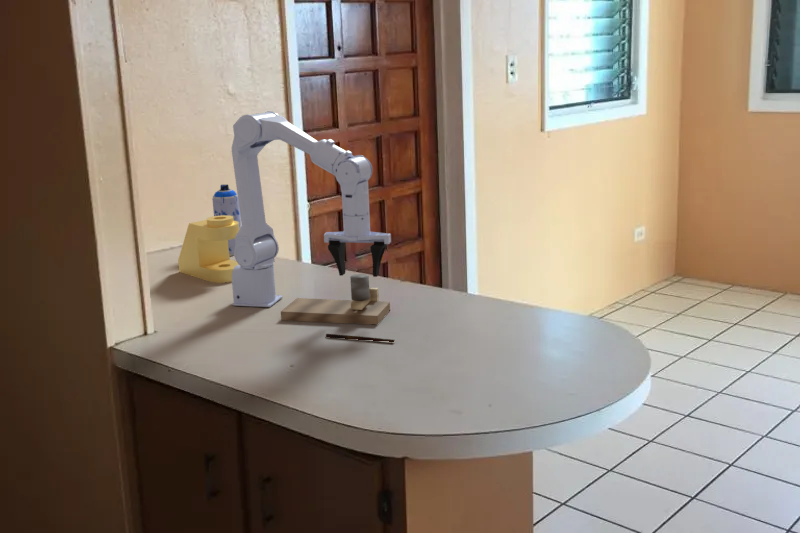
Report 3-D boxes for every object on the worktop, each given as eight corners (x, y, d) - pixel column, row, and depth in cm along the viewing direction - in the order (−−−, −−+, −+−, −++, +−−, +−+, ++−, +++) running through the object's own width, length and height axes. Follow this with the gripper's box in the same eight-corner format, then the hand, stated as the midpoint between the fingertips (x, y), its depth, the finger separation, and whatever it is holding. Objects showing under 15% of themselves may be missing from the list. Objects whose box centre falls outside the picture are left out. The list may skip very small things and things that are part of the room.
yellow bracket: (250, 277, 223) (245, 217, 218) (220, 285, 216) (214, 223, 212) (209, 265, 237) (203, 208, 232) (179, 272, 230) (173, 214, 226)
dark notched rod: (325, 338, 175) (324, 333, 175) (326, 337, 175) (325, 333, 175) (393, 344, 170) (393, 340, 170) (394, 344, 170) (394, 339, 170)
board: (281, 320, 187) (280, 311, 186) (297, 306, 196) (297, 297, 196) (377, 324, 181) (377, 315, 181) (390, 310, 191) (389, 301, 190)
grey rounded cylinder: (345, 316, 185) (343, 280, 183) (357, 303, 194) (356, 269, 192) (367, 317, 184) (366, 281, 182) (379, 304, 192) (377, 270, 190)
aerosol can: (248, 249, 253) (242, 182, 247) (238, 256, 245) (232, 187, 240) (223, 249, 254) (216, 182, 249) (212, 255, 247) (205, 187, 242)
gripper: (317, 216, 180) (321, 278, 184) (383, 218, 177) (386, 281, 180) (328, 210, 187) (332, 270, 190) (392, 211, 183) (394, 272, 187)
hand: (359, 274), depth 186 cm, fingers open, 7 cm apart
